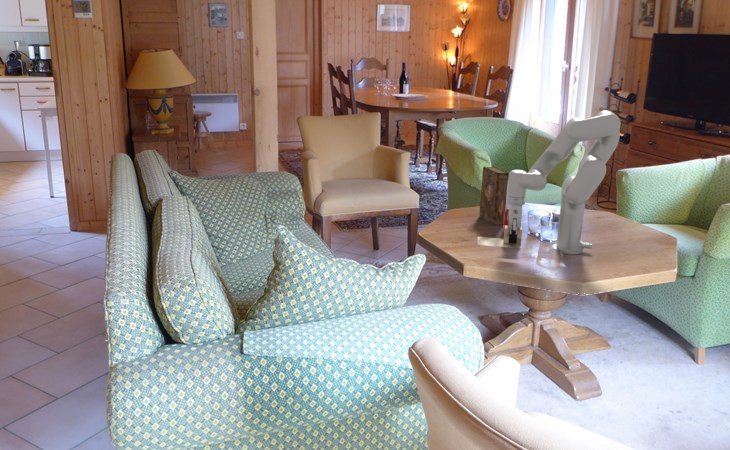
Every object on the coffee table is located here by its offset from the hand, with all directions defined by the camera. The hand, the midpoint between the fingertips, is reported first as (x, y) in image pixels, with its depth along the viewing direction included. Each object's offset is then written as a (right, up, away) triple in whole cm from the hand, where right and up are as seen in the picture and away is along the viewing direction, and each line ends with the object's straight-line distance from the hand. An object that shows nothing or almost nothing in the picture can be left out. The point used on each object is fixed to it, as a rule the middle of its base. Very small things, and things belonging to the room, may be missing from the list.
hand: (512, 241), depth 293 cm
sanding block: (0, -1, 0) cm, 1 cm away
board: (-5, -2, +1) cm, 6 cm away
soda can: (+3, +3, +18) cm, 18 cm away
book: (-2, +9, +38) cm, 39 cm away
